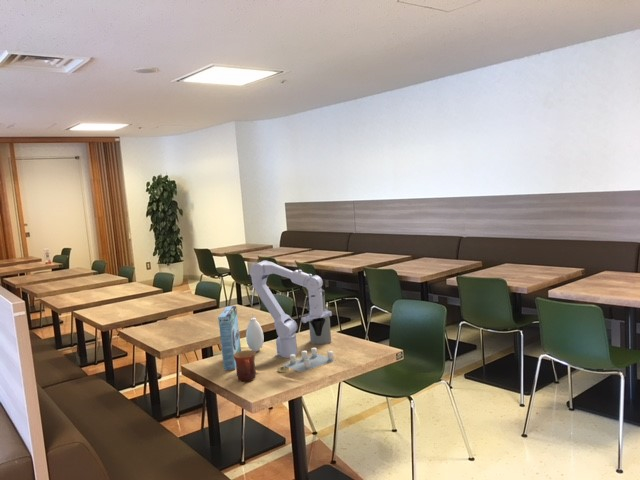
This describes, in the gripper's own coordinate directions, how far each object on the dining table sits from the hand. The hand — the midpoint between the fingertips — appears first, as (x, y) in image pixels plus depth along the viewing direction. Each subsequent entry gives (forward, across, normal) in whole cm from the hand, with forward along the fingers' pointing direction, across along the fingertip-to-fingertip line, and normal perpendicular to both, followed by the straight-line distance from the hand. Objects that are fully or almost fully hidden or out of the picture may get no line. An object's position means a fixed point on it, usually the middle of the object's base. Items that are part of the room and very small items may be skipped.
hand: (318, 335), depth 221 cm
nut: (+10, -20, -3) cm, 23 cm away
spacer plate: (+10, -8, -3) cm, 13 cm away
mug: (+10, -35, +1) cm, 36 cm away
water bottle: (+10, +13, +17) cm, 24 cm away
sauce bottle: (+10, -14, +31) cm, 35 cm away
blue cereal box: (+10, -29, +25) cm, 40 cm away
